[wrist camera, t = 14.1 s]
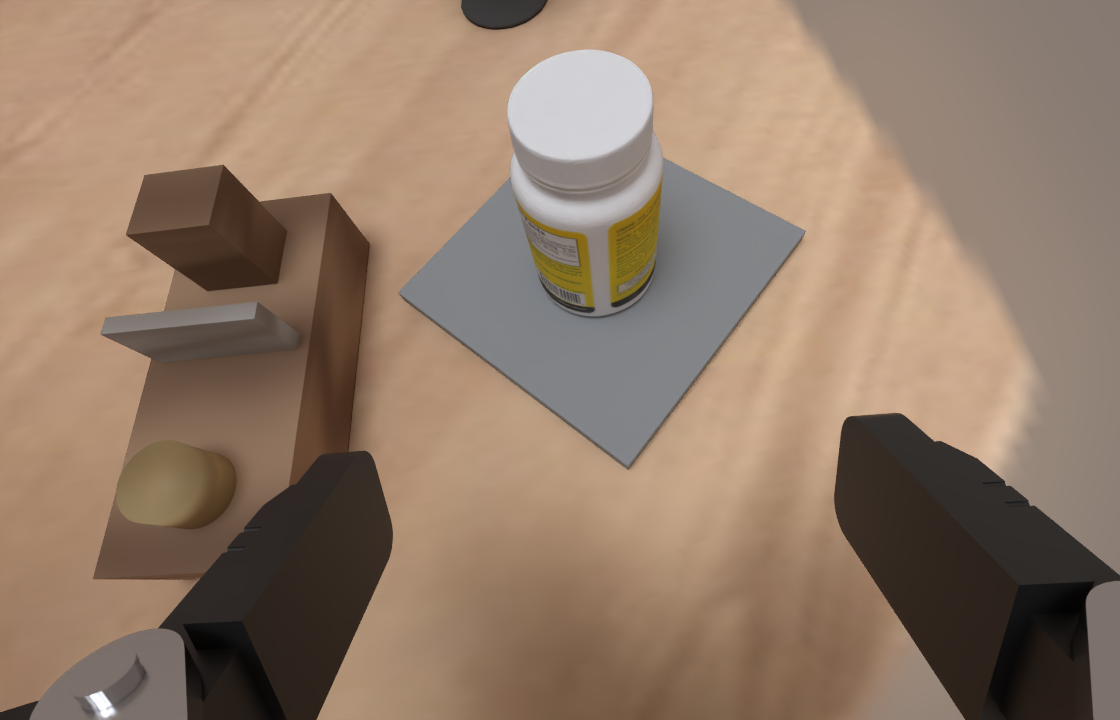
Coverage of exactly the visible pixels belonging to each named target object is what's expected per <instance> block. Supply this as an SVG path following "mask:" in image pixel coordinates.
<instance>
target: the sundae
mask: <svg viewBox="0 0 1120 720" xmlns="http://www.w3.org/2000/svg"><path fill="white" fill-rule="evenodd" d="M545 2H546V0H462V5H461V8H462V10H463V13H464V14H465V16H466V18H468V19H469V20H470V21H471V22H473V23H475V24H477V25H478V26H482V27H486V28H492V29H498V28H508V27H513V26H516V25H519V24H521V23H523V22H526V21H528V20H529V19H530V18H532V17H533V16H535V15H536V14H537V13H538V12H539V11H540V10H541V8H542V7H543V6H544V4H545Z"/></svg>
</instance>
